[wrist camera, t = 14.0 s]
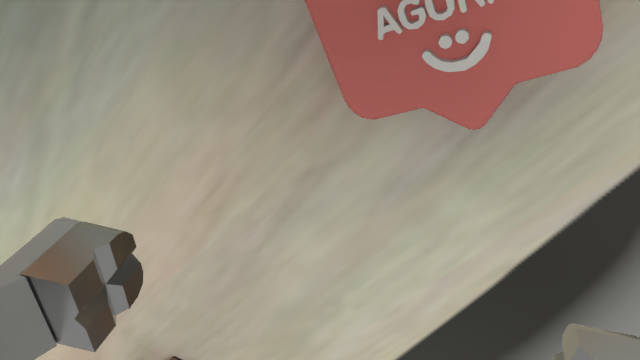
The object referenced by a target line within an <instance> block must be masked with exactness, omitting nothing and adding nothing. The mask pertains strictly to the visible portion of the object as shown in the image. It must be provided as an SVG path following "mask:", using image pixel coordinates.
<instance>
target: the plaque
mask: <svg viewBox="0 0 640 360" xmlns="http://www.w3.org/2000/svg"><path fill="white" fill-rule="evenodd" d="M305 2H306V5H307V7H308V10H309V12H310V15H311V17H312V20H313V22H314V25H315V27H316V30H317V32H318V35H319V37H320V40H321V42H322V45H323V47H324V50H325V52H326V55H327V57H328V60H329V62H330V65H331V67H332V70H333V72H334V75H335V77H336V80H337V82H338V85H339V87H340V90H341V92H342V95H343V97H344V100H345V102H346V103H347V105H348V106H349V108H350V109H351V110H352V111H353V112H354V113H356V114H357V115H359V116H360V117H362V118H368V119H373V120H374V119H378V118H383V117H387V116H391V115H395V114H399V113H403V112H407V111H411V110H415V109H419V108H425V109H427V110H430V111H432V112H434V113H436V114H438V115H440V116H442V117H445V118H447V119H449V120H451V121H453V122H455V123H457V124H459V125H462V126H464V127H466V128H468V129H473V130H475V129H480V128H481V127H483V126H484V125H485V124H486V123H487V121H488V120H489V119H490V117H491V116H492V115H493V113H494V112H495V110H496V109H497V108H498V106H499V105H500V104H501V102H502V101H503V100H504V98H505V97H506V96H507V94H508V93H509V92H510V90H511V89H512V87H513V86H514V85H515V84H517V83H518V82H522V81H526V80H529V79H533V78H537V77H541V76H545V75H548V74H552V73H556V72H560V71H564V70H567V69H571V68H575V67H578V66H580V65H581V64H583V63H584V62H586V61H587V60H589V59H590V58H591V57H592V56H593V54H594V53H595V52H596V51H597V49H598V46H599V44H600V42H601V40H602V31H603V26H602V19H601V12H600V5H599V0H305Z"/></svg>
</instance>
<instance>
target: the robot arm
mask: <svg viewBox="0 0 640 360" xmlns="http://www.w3.org/2000/svg"><path fill="white" fill-rule="evenodd" d="M135 248H136V244H135V241H134V238H133V235H132V234H130V233H128V232H126V231H122V230H117V229H113V228H109V227H105V226H100V225H96V224H92V223H88V222H82V221H78V220H73V219H69V218H65V217H63V218H59V219H56V220H54V221H53V222H51V223H50V224H49V225H48V226H47V227H45V228H44V229H43V230H42V231H41V232H40V233H38V234H37V235H36V236H35V237H34V238H33V239H31V240H30V241H29V242H28V243H27V244H25V245H24V246H23V247H22V248H21V249H20V250H18V251H17V252H16V253H15V254H14V255H13V256H11V257H10V258H9V259H8V260H7V261H5V262H4V263H3V264H2V265H1V266H0V360H34V359H36V358H38V357H39V356H41V355H42V354H44V353H46V352H47V351H49V350H50V349H52V348H54V347H55V346H56V345H57V344H56V343H58V344H62V345H67V346H71V347H75V348H79V349H83V350H87V351H91V352H95V351H96V350H97V349H98V348H99V346H100V345H101V344H102V343H103V341H104V340H105V339H106V337H107V336H108V335H109V334H110V332H111V331H112V330H113V329H114V327H115V326H116V315H117V314H119V313H121V312H123V311H125V310H127V309H129V308H130V307H131V305H132V304H133V303H134V301H135V300H136V299H137V297H138V295H139V292H140V290H141V287H142V284H143V270H142V266H141V263H140V262H139V261H138V260H137V258H136V257H135V256H134V255H133V254H132V253H133V251H134V250H135ZM562 343H563V351H562V352H560V353H558V354H556V355H554V358H553V360H640V337H637V336H634V335H628V334H624V333H619V332H613V331H608V330H603V329H598V328H593V327H588V326H582V325H578V324H573V323H571V324H570V325H569V326H568V327H567V328H566V330H565V332H564V334H563V336H562Z"/></svg>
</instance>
